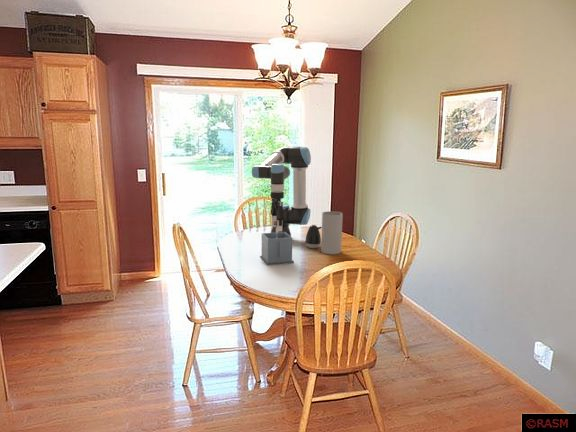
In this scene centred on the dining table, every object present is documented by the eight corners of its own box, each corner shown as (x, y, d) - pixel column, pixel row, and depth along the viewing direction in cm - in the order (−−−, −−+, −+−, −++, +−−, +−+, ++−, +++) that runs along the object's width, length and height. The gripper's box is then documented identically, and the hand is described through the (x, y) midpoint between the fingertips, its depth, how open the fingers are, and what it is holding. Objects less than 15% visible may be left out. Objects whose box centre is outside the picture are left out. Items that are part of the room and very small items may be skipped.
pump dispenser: (320, 250, 264) (320, 227, 261) (304, 249, 266) (304, 226, 263) (322, 246, 274) (322, 223, 271) (306, 245, 276) (307, 222, 273)
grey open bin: (259, 257, 247) (260, 233, 244) (285, 255, 252) (285, 231, 249) (267, 266, 230) (267, 240, 227) (294, 263, 235) (295, 238, 232)
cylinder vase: (320, 249, 266) (321, 211, 261) (340, 249, 266) (341, 211, 261) (321, 254, 254) (322, 214, 249) (341, 255, 254) (343, 215, 249)
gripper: (265, 188, 244) (265, 225, 248) (276, 194, 222) (276, 233, 226) (277, 188, 246) (277, 224, 250) (289, 194, 224) (289, 233, 228)
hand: (276, 228), depth 238 cm, fingers open, 11 cm apart
